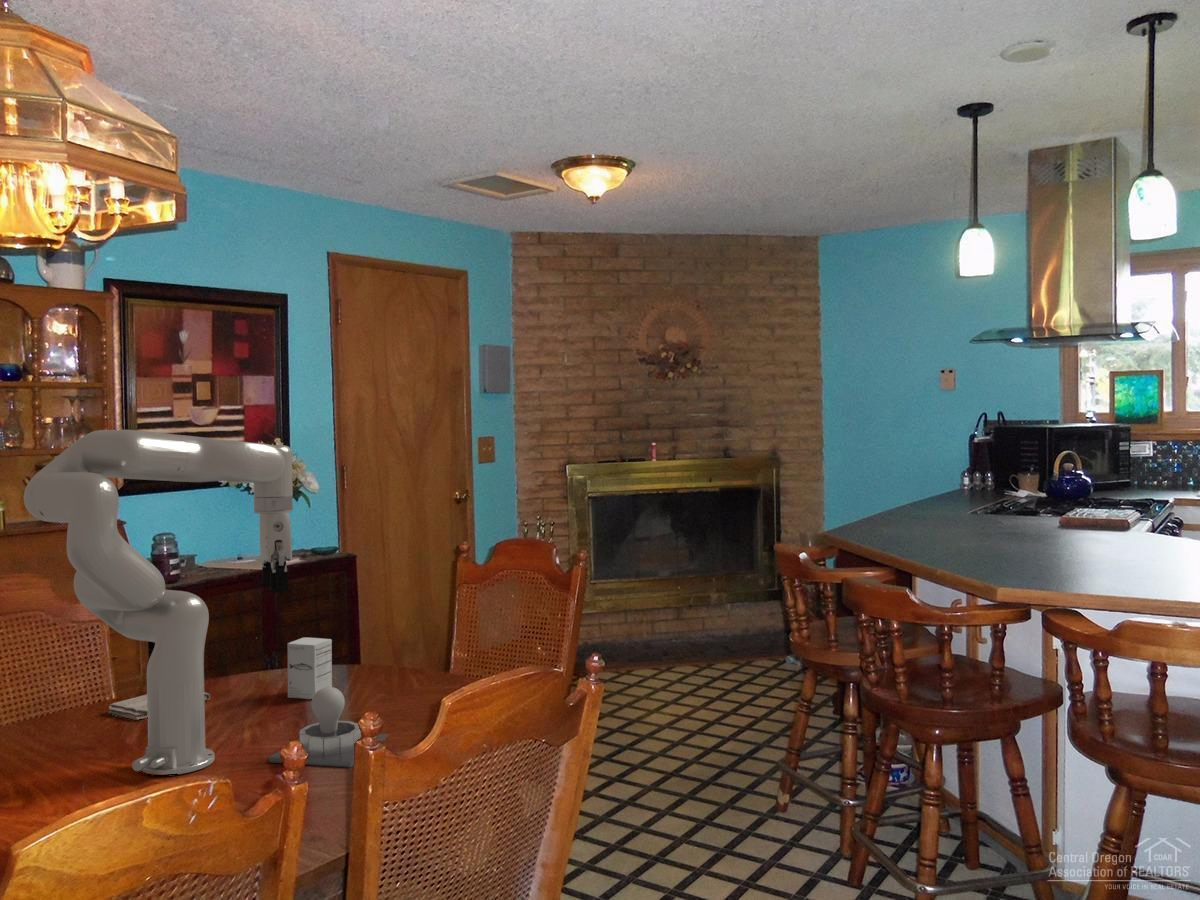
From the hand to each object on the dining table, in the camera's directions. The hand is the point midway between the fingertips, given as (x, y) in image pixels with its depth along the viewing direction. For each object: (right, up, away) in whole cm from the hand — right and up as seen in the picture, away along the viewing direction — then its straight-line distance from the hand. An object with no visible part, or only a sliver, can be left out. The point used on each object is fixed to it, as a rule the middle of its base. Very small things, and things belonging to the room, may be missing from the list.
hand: (274, 588), depth 197 cm
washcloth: (-31, -29, +15) cm, 45 cm away
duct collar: (+16, -28, -15) cm, 36 cm away
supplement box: (0, -28, +24) cm, 37 cm away
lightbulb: (+15, -28, -15) cm, 35 cm away
